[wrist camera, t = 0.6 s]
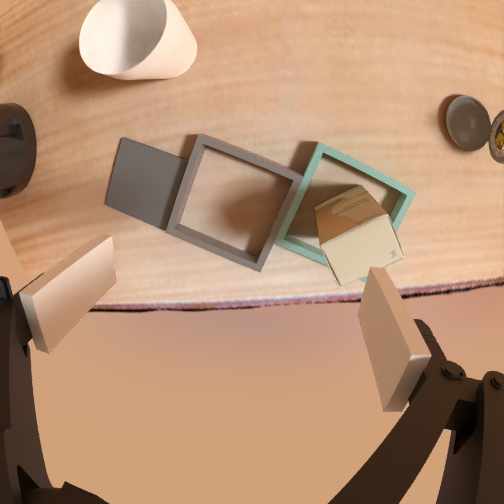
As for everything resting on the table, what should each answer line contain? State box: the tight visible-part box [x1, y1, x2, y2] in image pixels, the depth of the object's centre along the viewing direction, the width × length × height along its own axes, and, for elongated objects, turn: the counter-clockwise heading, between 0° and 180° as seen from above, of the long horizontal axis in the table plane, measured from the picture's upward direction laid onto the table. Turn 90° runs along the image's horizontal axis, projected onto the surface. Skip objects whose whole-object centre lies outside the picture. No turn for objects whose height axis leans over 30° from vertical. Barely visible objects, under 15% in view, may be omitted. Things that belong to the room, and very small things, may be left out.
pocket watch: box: [446, 95, 504, 164], centre depth 25 cm, size 8×8×10 cm
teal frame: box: [274, 142, 416, 282], centre depth 35 cm, size 12×12×2 cm
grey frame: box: [166, 134, 304, 272], centre depth 36 cm, size 12×12×2 cm
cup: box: [79, 0, 197, 80], centre depth 25 cm, size 9×9×12 cm
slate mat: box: [105, 137, 189, 230], centre depth 37 cm, size 9×9×1 cm
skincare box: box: [314, 185, 405, 287], centre depth 30 cm, size 6×4×12 cm
